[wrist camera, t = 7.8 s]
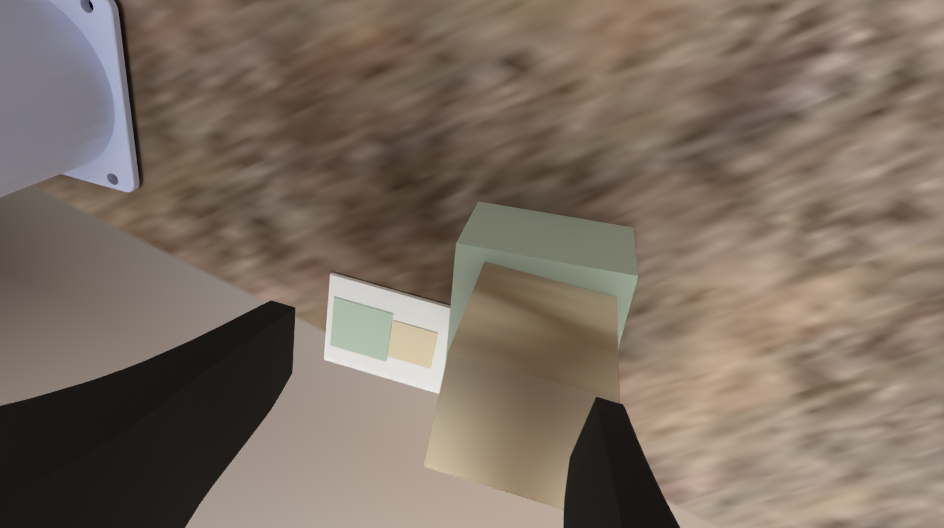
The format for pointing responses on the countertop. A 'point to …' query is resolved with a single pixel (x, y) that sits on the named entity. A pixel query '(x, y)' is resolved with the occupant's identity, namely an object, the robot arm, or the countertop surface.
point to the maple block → (523, 382)
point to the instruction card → (386, 332)
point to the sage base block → (544, 254)
